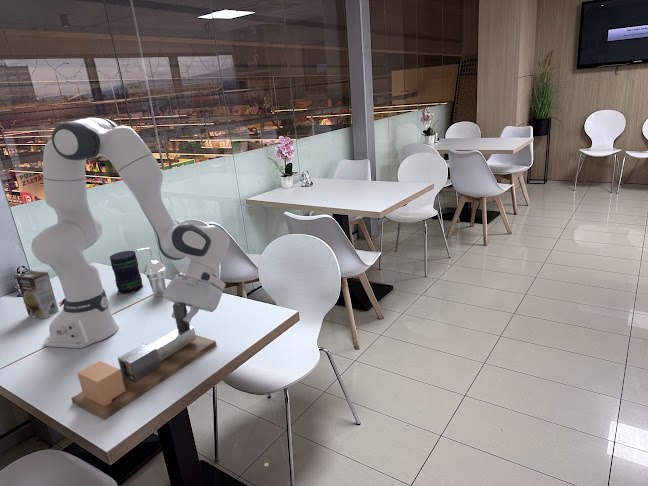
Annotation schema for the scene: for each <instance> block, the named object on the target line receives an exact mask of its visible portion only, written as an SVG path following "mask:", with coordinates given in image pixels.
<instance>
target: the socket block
mask: <svg viewBox="0 0 648 486" xmlns="http://www.w3.org/2000/svg"><path fill="white" fill-rule="evenodd" d="M76 374H77V378H78V381H79V384H80V387H81V392H83V395H84V397H86V398H88V399H90V400H92V401H94V402H96V403H98V404H100V405H102V406H104V407H105V406H106V405H108V404H110V403H111V402H112V399H114V398H115V397H117V396H118V395H120V394H122V393H123V392H125V387H124V383H123V379H122V375H121V372H120V368H118V367H116V366H113V365H111V364H108V363H106V362H104V361H101V360H98V361H96V362H94V363H93V364H92V363H91V365H89V366H87V367H85V368H84V369H81V370H80V371H78V372H77V373H76Z"/></svg>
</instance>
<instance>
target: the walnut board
mask: <svg viewBox="0 0 648 486" xmlns="http://www.w3.org/2000/svg"><path fill="white" fill-rule="evenodd" d="M195 336H196V340H194V341H192V342H191V343H189V344H188V345H186V346H184V347H183V348H181V349H180V350H178V351H176V352H175V353H173V354H172V355H170V356H168V357H167V358H165V359H163V360H162V361H160V366H161V367H160V368H158V369H157V370H155V371H153V372H152V373H150V374H149V375H147V376H146V377H144V378H142V379H141V380H139V381H138V382H136V383H135V382H133V381H131V380H128V379H126V378H124V377H122V379H123V383H124V387H125V392H123V393H122V394H120V395H118V396H117V397H115V398H114V399H112V402H111V403H110V404H108V405H106V406H105V407H104V406H102V405H100V404H98V403H96V402H94V401H92V400H90V399H88V398H86V397H84V395H83V391H81V392H79V393H78V394H76V395H74V396H72V397H71V398H70V399H71V401H72V404H74V405H75V406H77V407H79V408H81V409H83V410H85V411H86V412H88V413H91V414H92V415H94V416H96V417H98V418H100V419H102V420H104V421H105V420H107V419H108V418H110V417H111V416H113V415H114V414H116V413H117V412H118V411H120V410H121V409H123V408H125V407H127V405H129V404H130V403H132V402H133V401H135V400H137V399H138V398H139V397H142V396H143V395H145V393H147V392H149V391H150V390H152V389H154V387H156V386H157V385H159V384H160V383H162V382H164V381H166V380H168V378H170V377H171V376H173V375H174V374H176V373H178V372H179V371H180V370H182V369H183V368H185V367H186V366H188V365H190V364H191V363H192V362H193V361H195V360H197V359H198V358H200V357H201V356H203V355H204V354H206V353H207V352H208V351H210V350H212V349H213V348H215V347H216V346H217V341H216V340H213V339H212V338H208V337H205V336H201V335H197V334H195ZM119 369H120V368H119ZM120 372H121V369H120ZM121 375H122V373H121Z"/></svg>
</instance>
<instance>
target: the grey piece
mask: <svg viewBox="0 0 648 486" xmlns="http://www.w3.org/2000/svg"><path fill="white" fill-rule="evenodd" d="M173 304H174V303H173ZM172 309H173V310H174V315H175V318H174V319H175V323H176V328H177V329H175V330H173V331H171V332H170V333H167V334H166V335H165V336H163V337H161V338H159V339H157V340H156V341H154V342H152V343H150V344H149V345H148V346H151V347H154V348H156V349H157V353H158V358H159V362H160V361H162V360H163V359H165V358H167V357H168V356H170V355H172V354H173V353H175V352H176V351H178V350H180V349H181V348H183V347H184V346H186V345H188V344H189V343H191V342H192V341H194V340H196V336H195V335H196V332H195V327H194V326H191V325H190V322H186V321H184V320H183V318H184V315H185V314H186V315H187V314H188V308H187V306H186V304H185V303H183V302H178V303H175V304H174V305H172ZM173 310H172V311H173ZM125 367H126V371H127V373H129V374H131V375H132V371H131V367H130V365H129V364H127V363H125Z"/></svg>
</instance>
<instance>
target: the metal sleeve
mask: <svg viewBox="0 0 648 486" xmlns="http://www.w3.org/2000/svg"><path fill="white" fill-rule="evenodd" d="M117 361H118V365H119V369H121V373H122V377H124V378H126V379H128V380H131V381H133V382H135V383H136V382H138V381H139V380H141V379H142V378H144V377H146V376H147V375H149V374H150V373H152V372H153V371H155V370H157V369H158V368H160V367H161V366H160V362H159V358H158V353H157V349H156V348H154V347H151V346H149V345H148V344H146V343H142V344H140V345H138V346H136V347H135V348H132V349H131V350H129V351H127V352H126V353H124V354H123V355H121V356H118V357H117ZM125 363H127V364H129V365H130V367H131V371H132V375H131V374H129V373H127V371H126V367H125Z"/></svg>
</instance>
